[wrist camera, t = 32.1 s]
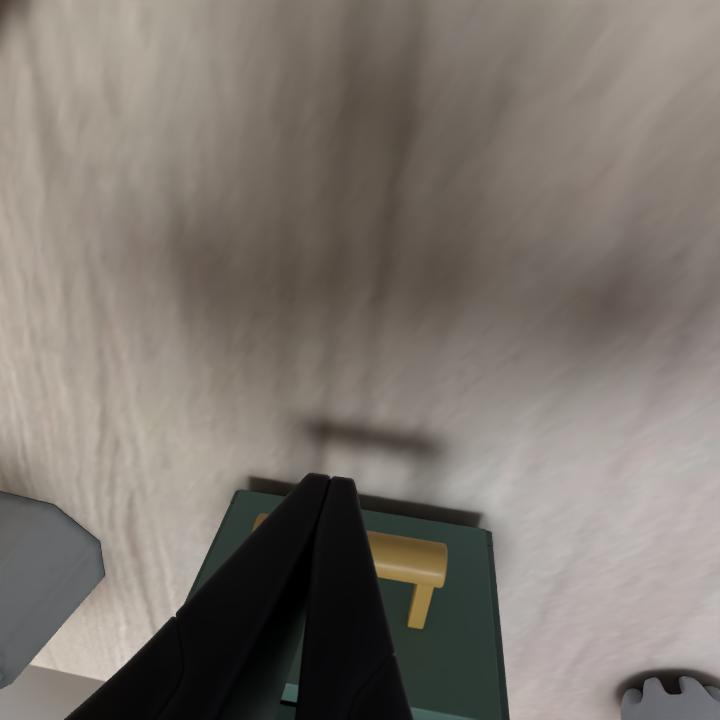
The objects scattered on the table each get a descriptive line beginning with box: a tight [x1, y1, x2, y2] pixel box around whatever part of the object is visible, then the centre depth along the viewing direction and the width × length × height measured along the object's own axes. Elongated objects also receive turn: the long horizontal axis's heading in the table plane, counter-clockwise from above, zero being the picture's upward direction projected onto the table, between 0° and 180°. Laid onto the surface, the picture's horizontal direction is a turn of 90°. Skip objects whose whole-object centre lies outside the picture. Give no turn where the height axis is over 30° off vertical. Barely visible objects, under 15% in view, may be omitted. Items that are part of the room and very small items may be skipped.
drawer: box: [193, 490, 502, 720], centre depth 22 cm, size 18×11×8 cm, turn 176°
